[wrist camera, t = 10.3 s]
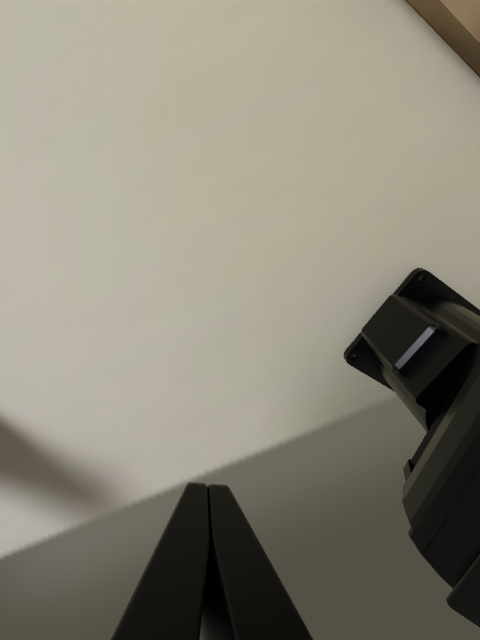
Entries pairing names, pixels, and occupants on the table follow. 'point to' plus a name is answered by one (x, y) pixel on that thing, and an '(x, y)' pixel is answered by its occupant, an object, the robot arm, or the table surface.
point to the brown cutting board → (455, 25)
